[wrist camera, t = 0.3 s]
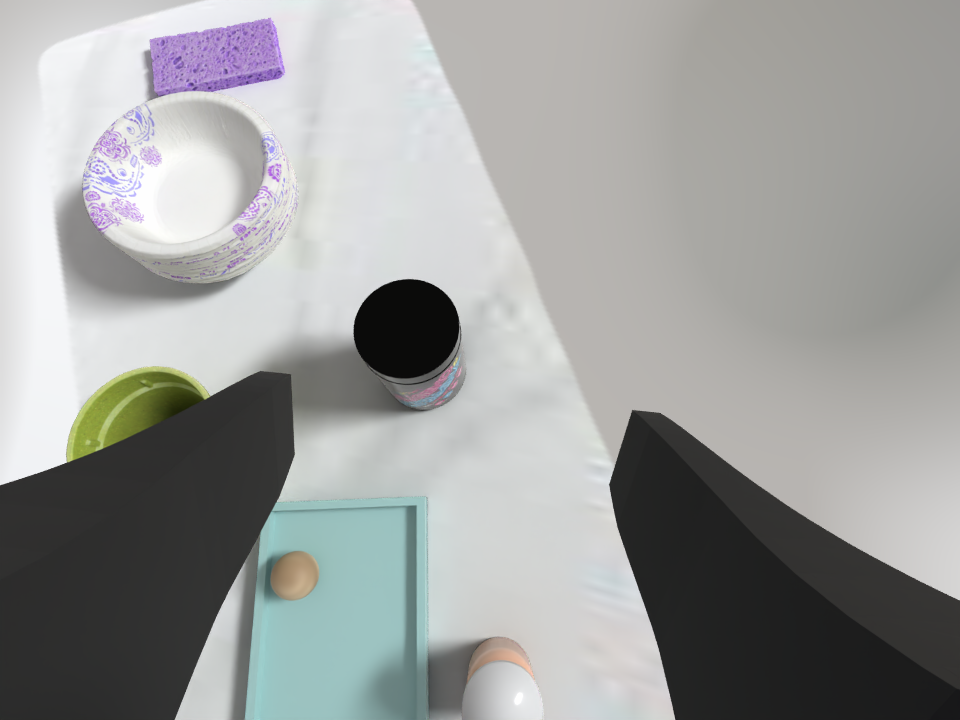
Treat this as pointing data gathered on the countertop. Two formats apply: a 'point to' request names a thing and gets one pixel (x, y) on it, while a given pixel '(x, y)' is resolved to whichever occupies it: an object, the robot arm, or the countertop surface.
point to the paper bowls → (191, 187)
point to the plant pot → (131, 407)
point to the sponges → (216, 58)
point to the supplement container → (412, 342)
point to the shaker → (501, 684)
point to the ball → (295, 575)
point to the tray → (344, 614)
